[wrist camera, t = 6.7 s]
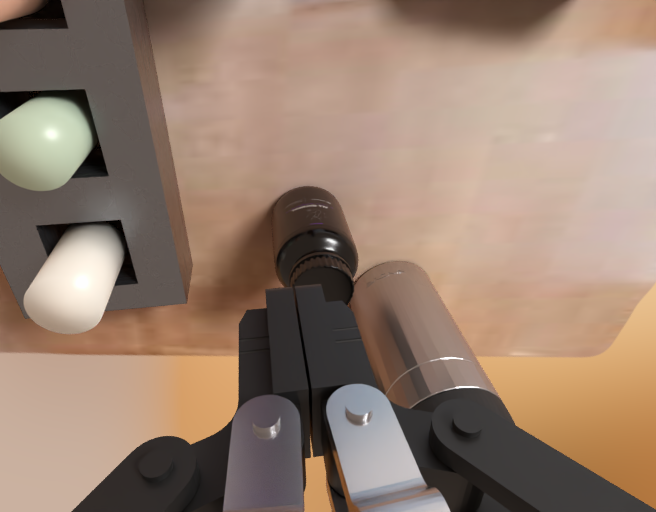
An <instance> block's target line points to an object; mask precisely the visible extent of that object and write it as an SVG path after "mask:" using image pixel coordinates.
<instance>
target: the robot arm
mask: <svg viewBox="0 0 656 512" xmlns="http://www.w3.org/2000/svg"><path fill="white" fill-rule="evenodd" d="M265 290H266V304H267V308H264V309H253V310H247V311H246V313H245V314H244V316H243V318H242V320H241V321H240V323H239V402H238V408H237V411H236V413H235V415H234V417H233V418H232V420H231V421H230V422H229V423H228V424H227V426H225V427H224V428H223V429H222V430H221V431H219V432H217V433H216V434H214V435H212V436H210V437H208V438H206V439H203V440H201V441H198V442H196V443H194V444H191V445H190V444H189V443H188V442H187V441H185V440H183V439H181V438H179V437H174V436H163V437H158V438H154V439H152V440H149V441H147V442H145V443H143V444H142V445H140V446H139V447H137V448H136V449H135V450H134V451H133V452H131V454H129V455H128V456H127V457H126V458H125V459H124V460H123V461H122V462H121V463H120V464H119V465H118V466H117V467H116V468H115V469H114V470H113V471H112V472H111V473H110V474H109V475H108V476H107V477H106V478H105V479H104V480H103V481H102V482H101V483H100V484H99V485H98V486H97V487H96V488H95V489H94V490H93V491H92V492H91V493H90V494H89V495H88V496H87V497H86V498H85V499H84V500H83V501H82V502H81V503H80V504H79V505H78V506H77V507H76V508H75V509H74V510H73V511H72V512H304V491H305V487H306V469H305V458H310V457H311V452H310V436H311V443H312V449H313V457H316V456H324V462H325V468H326V487H327V493H328V496H329V501H330V505H331V509H332V512H656V510H655V509H654V508H652V507H650V506H649V505H647V504H645V503H644V502H642V501H640V500H639V499H637V498H635V497H634V496H632V495H630V494H629V493H627V492H625V491H624V490H622V489H620V488H619V487H617V486H615V485H614V484H612V483H610V482H609V481H607V480H605V479H604V478H602V477H600V476H599V475H597V474H595V473H594V472H592V471H590V470H589V469H587V468H585V467H584V466H582V465H580V464H579V463H577V462H575V461H574V460H572V459H570V458H569V457H567V456H565V455H564V454H562V453H560V452H559V451H557V450H555V449H554V448H552V447H550V446H549V445H547V444H545V443H544V442H542V441H540V440H539V439H537V438H535V437H534V436H532V435H530V434H529V433H527V432H525V431H524V430H522V429H520V428H519V427H517V426H515V423H514V421H513V420H512V417H511V416H510V414H509V412H508V410H507V409H506V407H505V405H504V404H503V402H502V400H501V398H500V397H499V395H498V393H497V392H496V390H495V388H494V387H493V385H492V383H491V382H490V380H489V378H488V377H487V375H486V373H485V372H484V370H483V368H482V367H481V365H480V363H479V362H478V360H477V358H476V357H475V355H474V353H473V352H472V350H471V348H470V346H469V345H468V343H467V341H466V340H465V338H464V336H463V335H462V333H461V331H460V330H459V328H458V326H457V325H456V323H455V321H454V319H453V318H452V316H451V314H450V313H449V311H448V309H447V308H446V306H445V304H444V303H443V301H442V299H441V297H440V296H439V294H438V292H437V291H436V289H435V287H434V286H433V284H432V282H431V281H430V279H429V277H428V276H427V274H426V273H425V272H424V271H423V270H422V269H421V268H420V267H418V266H416V265H415V264H412V263H408V262H401V261H395V262H387V263H384V264H381V265H378V266H376V267H374V268H372V269H370V270H369V271H367V272H366V273H365V274H363V275H362V276H361V278H360V279H359V280H358V281H357V282H356V284H355V285H354V293H353V297H352V298H351V301H350V307H351V309H350V308H349V307H348V306H347V305H346V304H345V303H344V302H343V301H333V302H326V301H325V297H324V293H323V289H322V286H321V284H315V285H304V286H294V295H293V289H292V287H284V288H273V289H265Z"/></svg>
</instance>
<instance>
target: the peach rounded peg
mask: <svg viewBox="0 0 656 512" xmlns="http://www.w3.org/2000/svg"><path fill="white" fill-rule="evenodd" d="M48 1H49V0H0V22H3V21H7V20H10V19H14V18H18V17H22V16H26V15H29V14H33V13H36V12H38V11H39V10H41V9H42V8H43V7H44V6H45V5H46V4H47V3H48Z"/></svg>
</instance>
